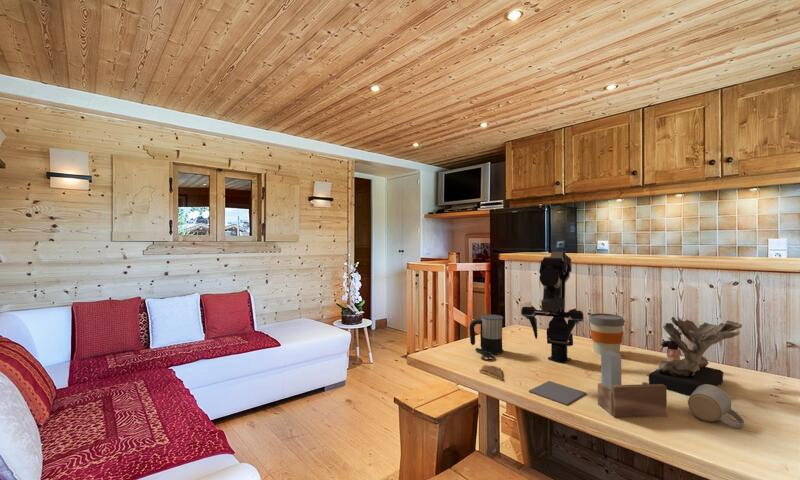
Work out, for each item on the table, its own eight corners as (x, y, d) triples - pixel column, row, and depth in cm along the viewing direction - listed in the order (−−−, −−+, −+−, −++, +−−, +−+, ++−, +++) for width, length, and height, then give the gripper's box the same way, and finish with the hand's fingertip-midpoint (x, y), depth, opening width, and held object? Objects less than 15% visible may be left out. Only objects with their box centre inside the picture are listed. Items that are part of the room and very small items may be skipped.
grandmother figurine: (683, 365, 134) (683, 331, 134) (686, 368, 130) (686, 333, 130) (658, 362, 137) (658, 329, 137) (661, 365, 134) (660, 331, 134)
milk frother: (498, 347, 158) (497, 313, 158) (514, 359, 143) (513, 321, 143) (466, 349, 156) (466, 314, 156) (479, 361, 141) (479, 323, 141)
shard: (502, 383, 121) (502, 377, 121) (478, 381, 122) (478, 375, 122) (501, 371, 131) (501, 366, 131) (479, 369, 133) (479, 364, 133)
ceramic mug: (685, 416, 96) (686, 387, 96) (695, 407, 101) (695, 380, 101) (740, 434, 87) (740, 402, 87) (747, 423, 92) (747, 393, 92)
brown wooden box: (597, 404, 103) (597, 376, 103) (646, 403, 104) (645, 375, 104) (614, 417, 95) (614, 387, 95) (666, 416, 96) (666, 386, 96)
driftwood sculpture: (677, 368, 131) (677, 308, 131) (754, 386, 114) (753, 318, 114) (646, 384, 117) (645, 317, 117) (728, 408, 100) (727, 330, 100)
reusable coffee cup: (626, 351, 150) (626, 315, 150) (621, 359, 141) (620, 321, 141) (593, 346, 159) (593, 312, 159) (585, 353, 149) (585, 316, 149)
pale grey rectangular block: (601, 392, 111) (601, 350, 111) (611, 392, 111) (610, 350, 111) (611, 400, 106) (611, 355, 106) (621, 399, 106) (621, 355, 106)
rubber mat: (549, 382, 120) (549, 380, 120) (586, 393, 110) (586, 392, 110) (528, 391, 112) (528, 390, 112) (566, 405, 103) (566, 404, 103)
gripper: (519, 286, 120) (516, 334, 116) (582, 290, 111) (582, 342, 107) (525, 293, 130) (523, 337, 125) (583, 296, 121) (583, 345, 116)
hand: (551, 340), depth 118 cm, fingers open, 9 cm apart
